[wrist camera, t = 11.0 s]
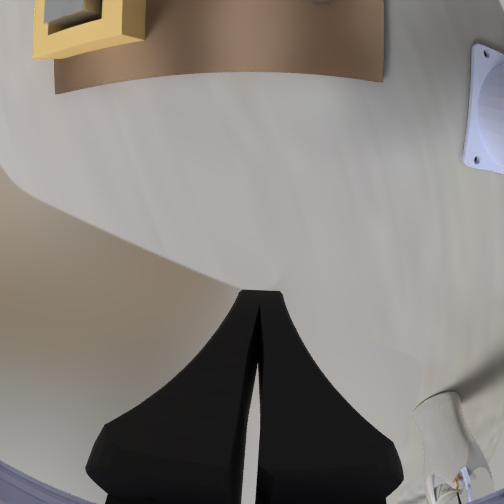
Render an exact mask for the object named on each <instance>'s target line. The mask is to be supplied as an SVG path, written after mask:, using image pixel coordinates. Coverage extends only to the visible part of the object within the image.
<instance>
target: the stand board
mask: <svg viewBox="0 0 504 504" xmlns="http://www.w3.org/2000/svg"><path fill="white" fill-rule="evenodd" d="M102 3H103V0H45V7H44V23H43V24H50V25H58V26H65V27H74V26H78V25H81V24H84V23H88V22H91V21H95V20H99V19H102ZM383 63H384V0H146V15H145V40H144V41H138V42H132V43H127V44H122V45H117V46H112V47H107V48H103V49H98V50H94V51H90V52H86V53H82V54H78V55H74V56H71V57H67V58H64V59H54V76H55V94H61V93H65V92H70V91H74V90H78V89H83V88H88V87H93V86H98V85H104V84H109V83H115V82H121V81H128V80H135V79H142V78H150V77H159V76H168V75H180V74H193V73H211V72H286V73H303V74H317V75H328V76H338V77H346V78H354V79H362V80H369V81H375V82H383Z"/></svg>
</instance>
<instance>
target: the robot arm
mask: <svg viewBox="0 0 504 504" xmlns="http://www.w3.org/2000/svg"><path fill="white" fill-rule="evenodd" d="M484 51H485V52H486V57H485V55H484ZM476 156H477V161H476V162H475V163H474V159H475V157H476ZM463 162H464V164H466V165H467V166H469V167H474V168H479V169H484V170H488V171H493V172H497V173H502V174H504V54H503V53H500V52H498V51H496V50H494V49H491V48H489V47H486V46H484V45H481V44H474V45H473V46H472V55H471V84H470V98H469V110H468V120H467V128H466V136H465V143H464V150H463ZM257 364H258V371H259V394H260V440H259V457H258V472H257V486H256V501H255V504H386V497H387V496H388V495H390V494H391V493H392V492H393V491H394V490H395V489H396V488H398V486H399V485H400V484H401V483H402V481H403V480H404V475H403V469H402V465H401V461H400V458H399V456H398V453H397V450H396V448H395V446H394V443H393V442H392V441H391V440H390V439H388V438H387V437H386V436H384V435H383V434H382V433H381V432H379V431H378V430H377V429H375V427H373V426H372V425H371V424H370V423H369V422H367V421H366V420H365V419H364V418H363V417H362V416H361V415H360V414H359V413H358V412H357V411H356V410H355V409H354V408H353V407H352V406H351V405H350V404H349V403H348V402H347V401H346V400H345V399H344V398H343V397H342V395H341V394H340V393H339V392H338V391H337V390H336V389H335V388H334V387H333V385H332V384H331V383H330V382H329V380H328V379H327V378H326V377H325V375H324V374H323V373H322V371H321V370H320V369H319V367H318V366H317V364H316V363H315V361H314V360H313V358H312V357H311V355H310V354H309V352H308V351H307V349H306V347H305V345H304V343H303V342H302V340H301V338H300V337H299V334H298V332H297V330H296V328H295V326H294V325H293V322H292V320H291V318H290V316H289V313H288V311H287V308H286V305H285V302H284V299H283V294H282V293H281V292H280V291H262V290H242V291H240V292H239V294H238V296H237V299H236V301H235V303H234V304H233V306H232V308H231V310H230V311H229V313H228V315H227V316H226V318H225V319H224V321H223V322H222V324H221V325H220V326H219V328H218V329H217V331H216V332H215V333H214V335H213V336H212V337H211V339H210V340H209V341H208V342H207V344H206V345H205V346H204V347H203V349H202V350H201V351H200V352H199V353H198V354H197V355H196V356H195V358H194V359H193V360H192V361H191V362H190V363H189V364H188V365H187V366H186V367H185V368H184V369H183V370H182V371H181V372H179V373H178V374H177V375H176V376H175V377H174V378H173V379H172V380H171V381H170V382H168V383H167V384H166V385H165V386H164V387H162V388H161V389H160V390H158V391H157V392H156V393H154V394H153V395H152V396H150V397H149V398H147V399H146V400H145V401H143V402H142V403H141V404H139V405H138V406H136V407H135V408H133V409H131V410H130V411H128V412H126V413H125V414H123V415H121V416H120V417H118V418H116V419H114V420H113V421H111V422H109V423H107V424H105V425H104V427H103V429H102V431H101V433H100V434H99V436H98V438H97V440H96V441H95V443H94V446H93V448H92V451H91V454H90V456H89V459H88V462H87V465H86V467H85V468H86V472H87V474H88V476H89V477H90V478H91V479H92V480H93V481H94V482H95V483H96V484H97V485H98V486H100V487H101V488H102V489H103V490H104V491H105V492H106V493H108V496H107V499H106V502H105V504H241V496H242V483H243V470H244V457H245V444H246V431H247V422H248V414H249V409H250V404H251V398H252V392H253V387H254V382H255V376H256V370H257ZM0 504H96V503H93V502H90V501H87V500H84V499H81V498H79V497H76V496H74V495H71V494H69V493H66V492H64V491H61V490H59V489H57V488H54V487H52V486H50V485H48V484H45V483H43V482H41V481H39V480H37V479H35V478H32V477H31V476H28V475H27V474H25V473H23V472H21V471H19V470H17V469H15V468H13V467H11V466H10V465H8V464H6V463H4V462H2V461H1V460H0ZM466 504H504V488H503V489H501V490H499V491H496V492H494V493H492V494H489V495H487V496H484V497H482V498H479V499H477V500H474V501H471V502H468V503H466Z"/></svg>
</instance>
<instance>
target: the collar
mask: <svg viewBox="0 0 504 504" xmlns="http://www.w3.org/2000/svg"><path fill="white" fill-rule="evenodd" d="M44 7H45V0H35V10H34V26H33V59H64V58H67V57H71V56H74V55H78V54H82V53H86V52H90V51H94V50H98V49H103V48H107V47H112V46H117V45H122V44H127V43H132V42H138V41H144V40H145V15H146V0H103V3H102V19H99V20H95V21H91V22H88V23H84V24H81V25H78V26H74V27H65V26H58V25H50V24H43V23H44Z"/></svg>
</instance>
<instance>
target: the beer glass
mask: <svg viewBox="0 0 504 504" xmlns="http://www.w3.org/2000/svg"><path fill="white" fill-rule="evenodd" d="M412 420H413V422H414V424H415V426H416V428H417V430H418V432H419V434H420V437H421V440H422V445H423V454H424V482H425V493H426V500H427V504H466V503H468V502H471V501H474V500H477V499H479V498H482V497H484V496H487V495H489V494H492V493H494V492H495V489H494V484H493V480H492V475H491V472H490V469H489V466H488V463H487V460H486V458H485V456H484V454H483V452H482V450H481V449H480V447H479V445H478V443H477V442H476V440H475V438H474V437H473V435H472V433H471V432H470V430H469V428H468V426H467V424H466V421H465V418H464V415H463V410H462V404H461V399H460V396H459V394H458V393H456V392H452V391H449V392H443V393H440V394H437V395H434V396H432V397H430V398H428V399H427V400H425V401H424V402H422V403H421V404H420V405H419V406H417V407H416V409H415V410H414V411H413V413H412Z"/></svg>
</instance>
